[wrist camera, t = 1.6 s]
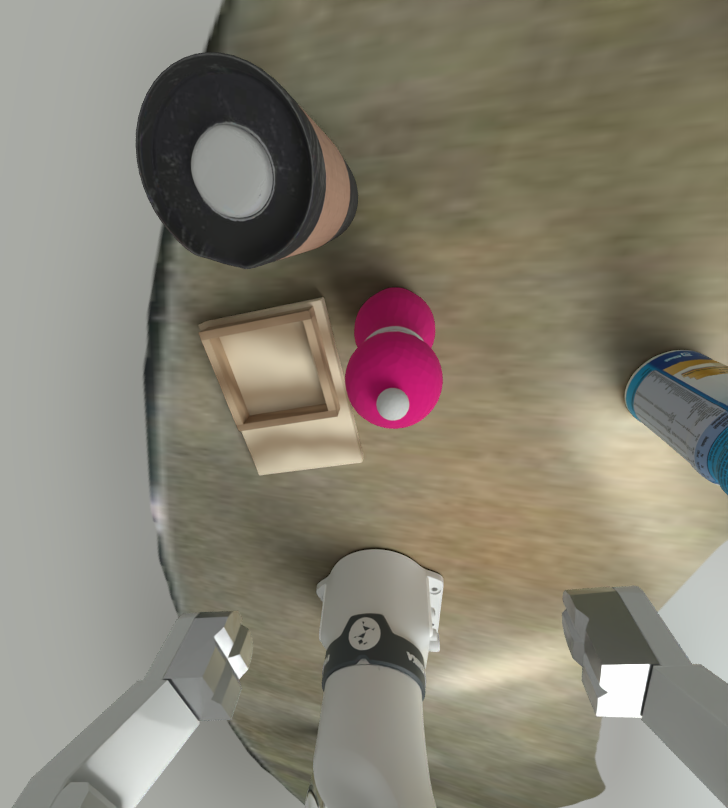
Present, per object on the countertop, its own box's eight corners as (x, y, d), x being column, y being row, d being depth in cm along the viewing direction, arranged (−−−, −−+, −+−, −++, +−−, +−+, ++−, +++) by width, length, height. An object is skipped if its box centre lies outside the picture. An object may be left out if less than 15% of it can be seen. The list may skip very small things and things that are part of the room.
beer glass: (357, 735, 76) (348, 846, 62) (334, 744, 78) (321, 853, 65) (332, 721, 74) (318, 832, 60) (309, 731, 76) (291, 839, 63)
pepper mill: (347, 334, 38) (303, 436, 20) (378, 268, 35) (359, 318, 17) (409, 364, 39) (419, 486, 21) (444, 302, 36) (492, 384, 18)
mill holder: (363, 454, 45) (360, 472, 41) (263, 468, 47) (253, 485, 44) (323, 297, 37) (317, 304, 33) (205, 321, 39) (188, 330, 36)
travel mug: (331, 124, 30) (237, -12, 12) (377, 214, 33) (354, 208, 15) (258, 180, 32) (91, 133, 15) (307, 260, 35) (215, 302, 17)
